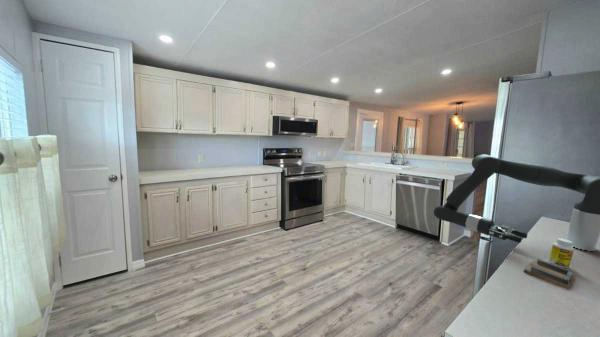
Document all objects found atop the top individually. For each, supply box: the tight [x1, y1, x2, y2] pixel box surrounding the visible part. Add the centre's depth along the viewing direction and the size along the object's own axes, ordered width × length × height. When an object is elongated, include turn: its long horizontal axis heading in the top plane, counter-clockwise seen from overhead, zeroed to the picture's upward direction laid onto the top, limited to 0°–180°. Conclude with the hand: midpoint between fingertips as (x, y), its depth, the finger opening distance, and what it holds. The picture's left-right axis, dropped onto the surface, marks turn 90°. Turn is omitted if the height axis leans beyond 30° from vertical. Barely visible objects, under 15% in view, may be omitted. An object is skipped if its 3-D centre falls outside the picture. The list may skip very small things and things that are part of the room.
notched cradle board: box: [523, 258, 576, 290], centre depth 85 cm, size 12×11×2 cm
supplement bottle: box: [548, 237, 575, 269], centre depth 92 cm, size 6×6×10 cm
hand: (524, 238), depth 101 cm, fingers open, 8 cm apart
